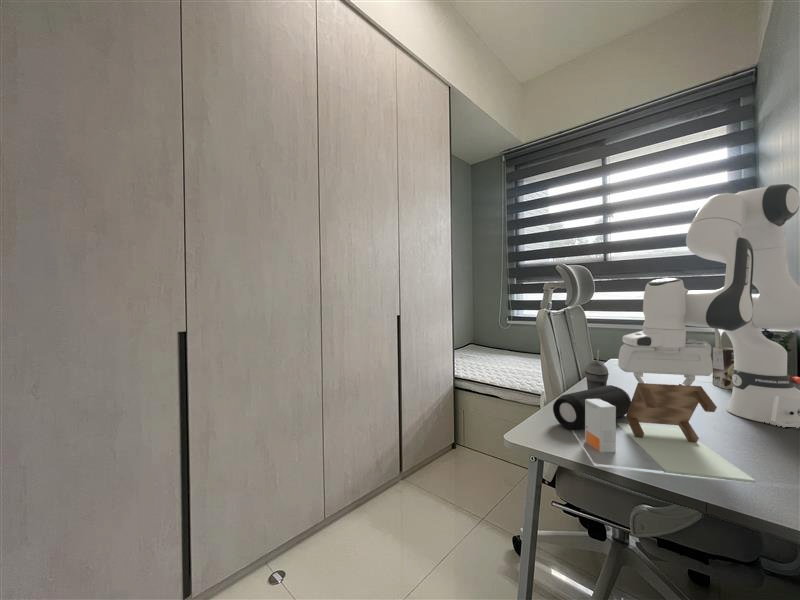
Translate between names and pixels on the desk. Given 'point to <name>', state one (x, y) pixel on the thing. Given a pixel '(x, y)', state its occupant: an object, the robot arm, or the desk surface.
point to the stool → (667, 407)
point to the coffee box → (723, 367)
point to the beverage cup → (596, 374)
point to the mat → (684, 454)
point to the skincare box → (600, 425)
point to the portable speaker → (573, 405)
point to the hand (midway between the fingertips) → (663, 389)
